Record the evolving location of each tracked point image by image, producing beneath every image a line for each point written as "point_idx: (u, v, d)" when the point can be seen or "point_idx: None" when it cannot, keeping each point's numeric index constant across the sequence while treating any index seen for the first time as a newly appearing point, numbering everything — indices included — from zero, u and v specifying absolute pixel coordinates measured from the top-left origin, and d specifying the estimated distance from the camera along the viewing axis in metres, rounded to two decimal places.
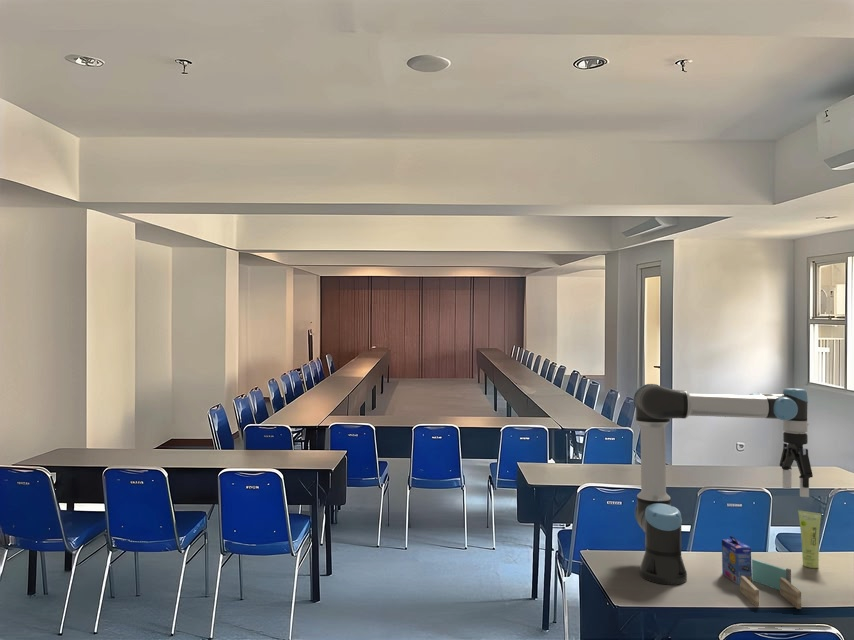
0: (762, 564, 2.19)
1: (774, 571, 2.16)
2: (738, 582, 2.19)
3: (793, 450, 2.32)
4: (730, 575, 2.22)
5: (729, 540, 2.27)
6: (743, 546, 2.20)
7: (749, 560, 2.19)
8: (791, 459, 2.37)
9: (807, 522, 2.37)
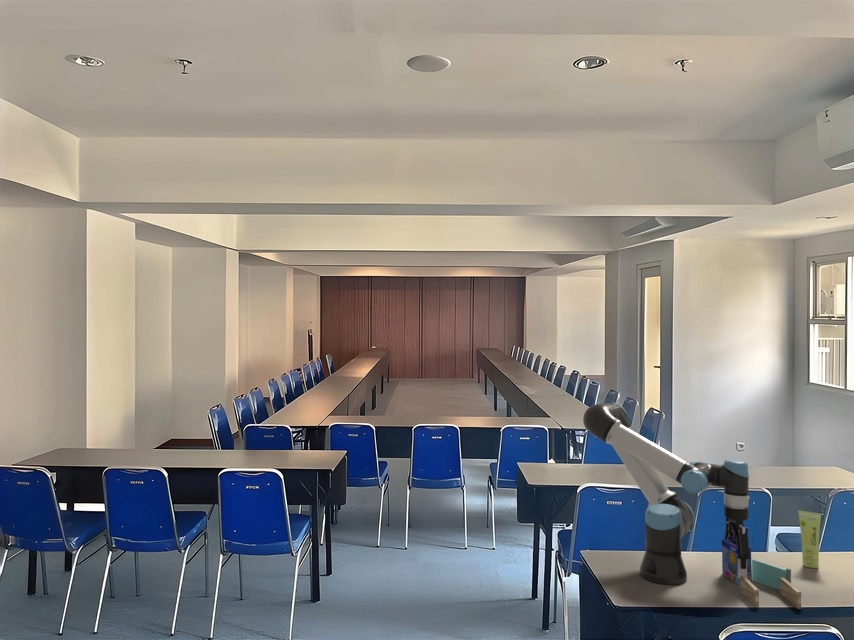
0: (762, 564, 2.19)
1: (774, 571, 2.16)
2: (738, 582, 2.19)
3: (733, 526, 2.22)
4: (730, 575, 2.22)
5: (729, 540, 2.27)
6: None
7: (749, 560, 2.19)
8: (734, 535, 2.27)
9: (807, 522, 2.37)
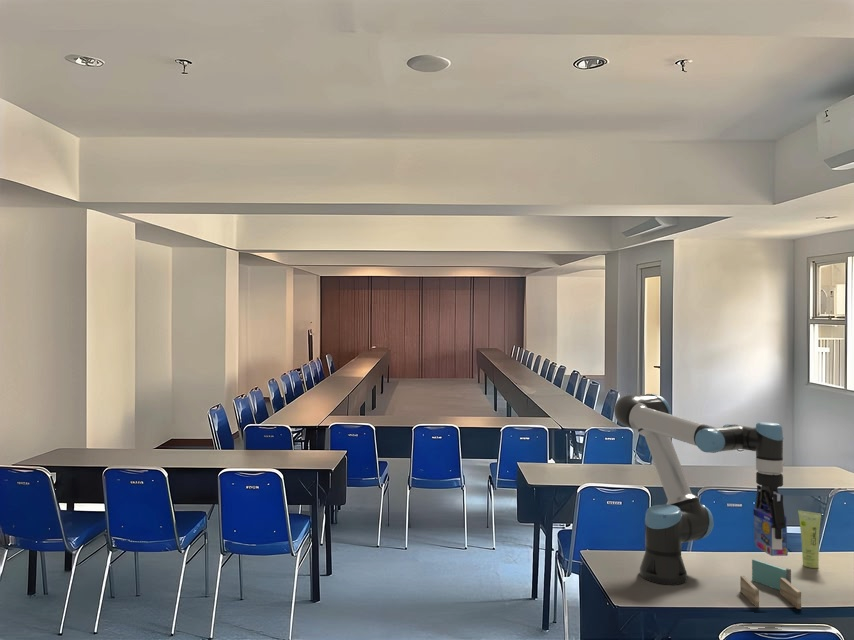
0: (762, 564, 2.19)
1: (774, 571, 2.16)
2: (773, 554, 2.01)
3: (767, 493, 2.05)
4: (764, 547, 2.05)
5: (762, 509, 2.09)
6: None
7: (784, 530, 2.02)
8: (766, 504, 2.10)
9: (807, 522, 2.37)
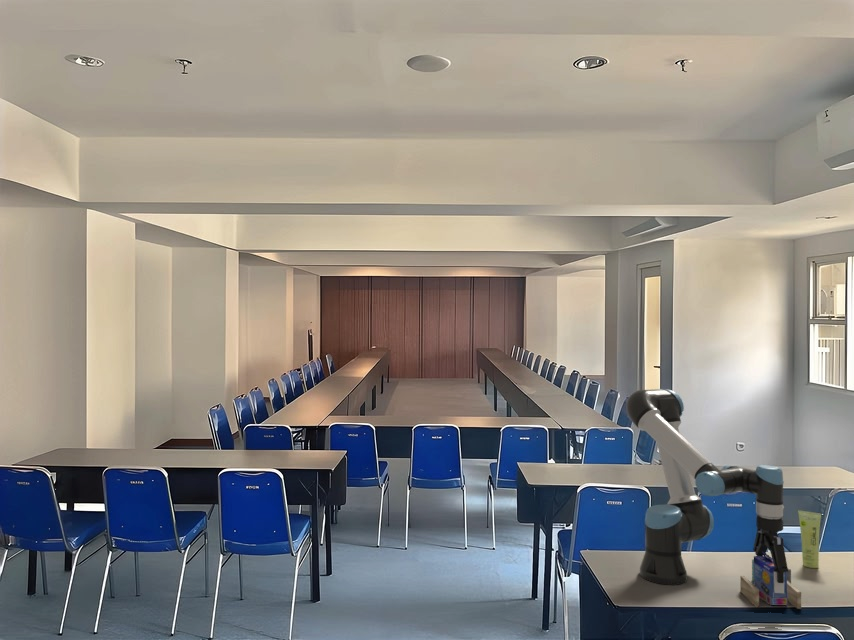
0: None
1: None
2: (772, 604, 2.01)
3: (767, 537, 2.05)
4: (764, 596, 2.04)
5: (762, 557, 2.09)
6: None
7: (784, 580, 2.01)
8: (765, 545, 2.10)
9: (807, 522, 2.37)
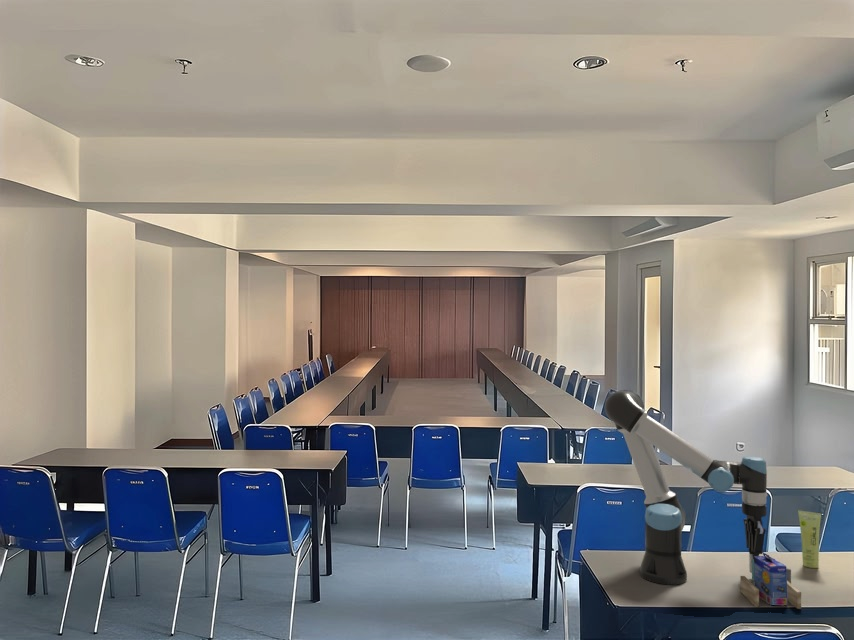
0: None
1: None
2: (772, 604, 2.01)
3: (752, 524, 2.23)
4: (764, 596, 2.04)
5: (762, 557, 2.09)
6: (777, 564, 2.02)
7: (784, 580, 2.01)
8: None
9: (807, 522, 2.37)
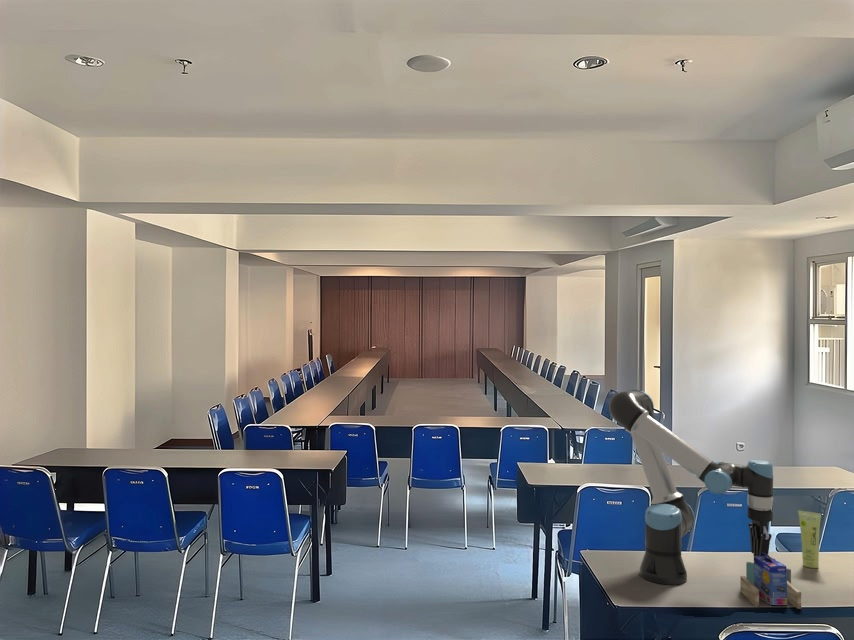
0: None
1: None
2: (772, 604, 2.01)
3: (757, 529, 2.18)
4: (764, 596, 2.04)
5: (762, 557, 2.09)
6: (777, 564, 2.02)
7: (784, 580, 2.01)
8: None
9: (807, 522, 2.37)
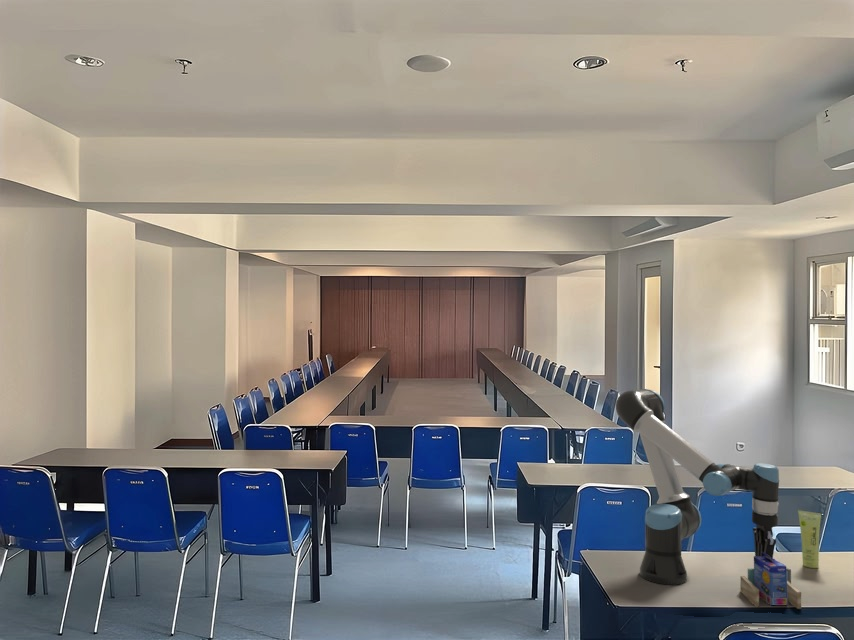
0: None
1: None
2: (772, 604, 2.01)
3: (761, 534, 2.14)
4: (764, 596, 2.04)
5: (762, 557, 2.09)
6: (777, 564, 2.02)
7: (784, 580, 2.01)
8: None
9: (807, 522, 2.37)
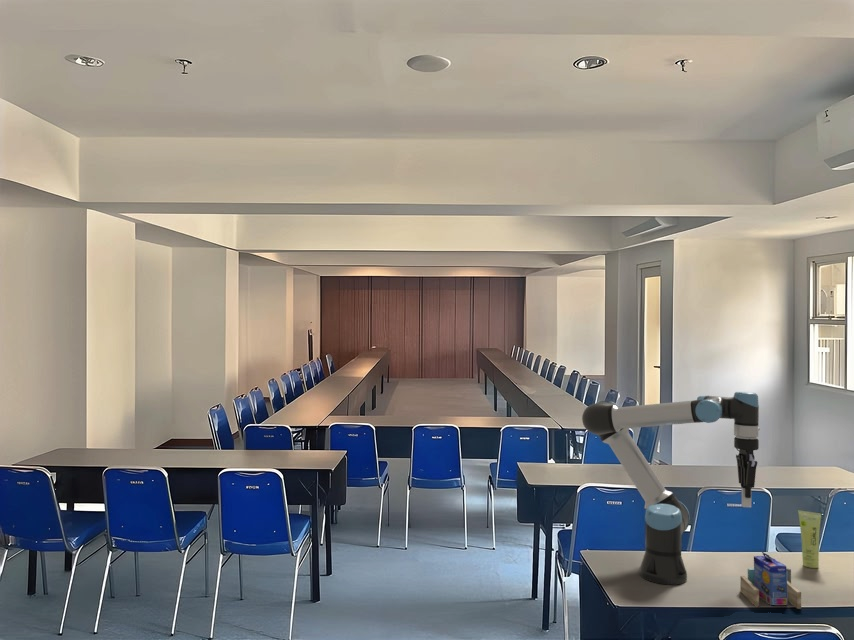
0: None
1: None
2: (772, 604, 2.01)
3: (743, 457, 2.23)
4: (764, 596, 2.04)
5: (762, 557, 2.09)
6: (777, 564, 2.02)
7: (784, 580, 2.01)
8: None
9: (807, 522, 2.37)
